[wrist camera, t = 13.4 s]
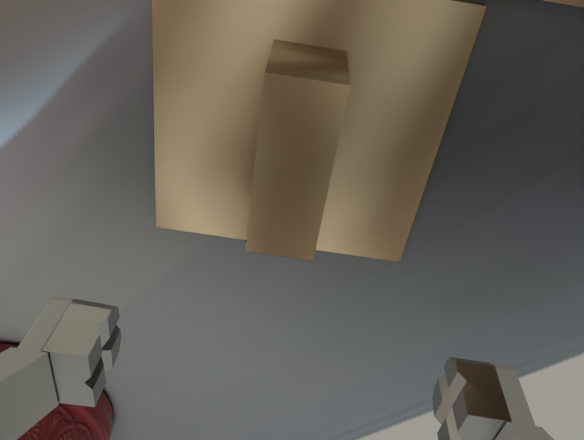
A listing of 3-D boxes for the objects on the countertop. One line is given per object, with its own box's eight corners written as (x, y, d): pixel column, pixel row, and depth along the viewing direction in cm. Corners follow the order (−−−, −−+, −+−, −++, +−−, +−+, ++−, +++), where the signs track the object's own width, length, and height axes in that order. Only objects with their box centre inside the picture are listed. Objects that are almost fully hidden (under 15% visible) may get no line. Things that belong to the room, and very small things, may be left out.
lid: (480, 0, 20) (519, 34, 16) (397, 250, 28) (409, 316, 24) (157, -52, 20) (114, -31, 16) (161, 216, 27) (132, 277, 23)
